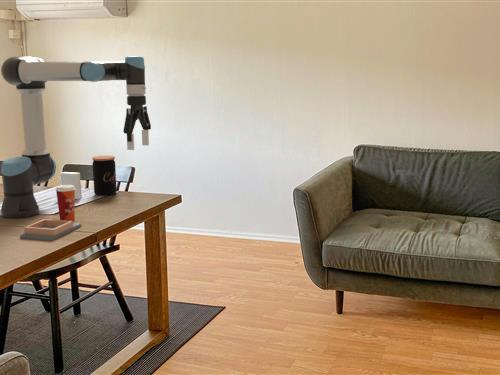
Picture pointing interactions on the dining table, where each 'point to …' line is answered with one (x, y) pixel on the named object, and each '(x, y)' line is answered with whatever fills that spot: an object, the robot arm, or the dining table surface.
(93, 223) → the dining table surface
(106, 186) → the coffee jar
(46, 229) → the cup stand
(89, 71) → the robot arm
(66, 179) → the cylinder with rectangular tab
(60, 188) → the paper cup
